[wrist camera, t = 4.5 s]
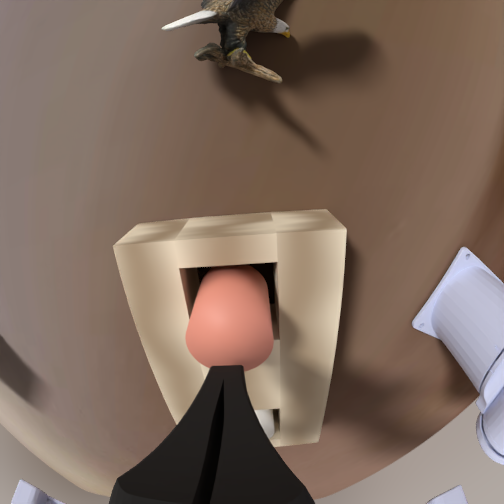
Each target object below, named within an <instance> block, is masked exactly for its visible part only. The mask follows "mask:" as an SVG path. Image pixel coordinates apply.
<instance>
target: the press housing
mask: <svg viewBox="0 0 504 504" xmlns="http://www.w3.org/2000/svg"><path fill="white" fill-rule="evenodd" d="M346 231H347V229H346V228H345V227H344V226H343V225H342V224H341V223H340V222H339V221H338V220H337V219H336V218H335V217H334V216H333V215H332V214H331V213H330V212H329V211H328V210H327V209H323V210H302V211H283V212H267V213H251V214H237V215H224V216H212V217H200V218H189V219H178V220H167V221H157V222H148V223H139V224H137V225H136V226H135V227H134V228H133V229H132V230H130V231H129V232H128V233H127V234H126V235H125V236H123V237H122V238H121V239H120V240H119V241H118V242H117V243H116V244H114V245H113V248H114V252H115V256H116V260H117V264H118V268H119V272H120V276H121V279H122V283H123V286H124V290H125V293H126V297H127V300H128V303H129V306H130V309H131V313H132V316H133V319H134V322H135V325H136V328H137V331H138V333H139V336H140V339H141V342H142V345H143V347H144V350H145V353H146V355H147V358H148V360H149V363H150V366H151V368H152V371H153V373H154V375H155V378H156V380H157V383H158V385H159V387H160V390H161V392H162V394H163V396H164V399H165V401H166V403H167V405H168V407H169V410H170V412H171V414H172V416H173V418H174V420H175V422H176V424H178V423H179V421H180V420H181V419H182V417H183V416H184V414H185V413H186V411H187V410H188V408H189V407H190V405H191V404H192V402H193V401H194V399H195V397H196V395H197V394H198V392H199V390H200V388H201V386H202V384H203V382H204V380H205V378H206V376H207V374H208V372H209V369H210V368H208V367H206V366H204V365H202V364H201V363H199V362H198V361H197V360H196V359H195V358H194V357H193V356H192V355H191V353H190V352H189V350H188V348H187V345H186V340H185V335H186V330H187V327H188V323H189V320H190V317H191V313H192V310H193V307H194V303H195V300H196V297H197V294H198V290H199V287H200V282H199V277H198V270H197V267H208V266H224V265H240V264H255V263H270V262H273V273H274V299H275V303H272V304H270V312H271V321H272V330H273V340H274V343H273V349H272V352H271V354H270V355H269V357H268V358H267V359H266V360H265V361H264V362H263V363H262V364H261V365H259V366H258V367H256V368H254V369H251V370H249V371H245V372H244V373H245V380H246V387H247V392H248V395H249V398H250V401H251V403H252V406H253V409H254V410H266V409H273V419H274V435H273V436H272V437H271V438H270V439H269V440H270V442H271V443H272V445H273V447H278V446H289V445H299V444H307V443H315V442H318V441H319V436H320V432H321V427H322V423H323V418H324V413H325V408H326V403H327V398H328V393H329V387H330V382H331V376H332V370H333V363H334V357H335V350H336V343H337V336H338V328H339V319H340V311H341V301H342V291H343V279H344V266H345V251H346Z"/></svg>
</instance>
